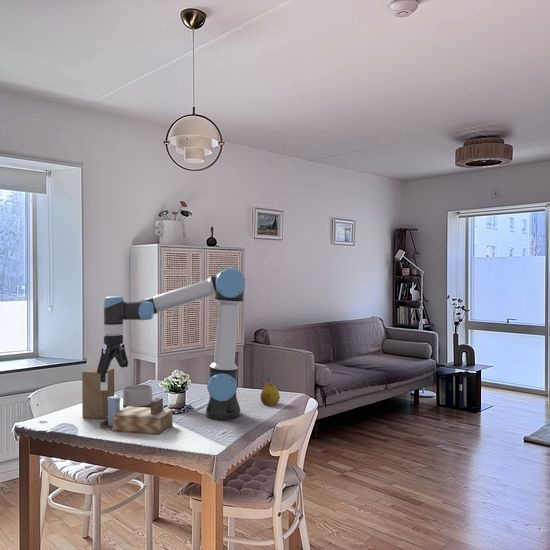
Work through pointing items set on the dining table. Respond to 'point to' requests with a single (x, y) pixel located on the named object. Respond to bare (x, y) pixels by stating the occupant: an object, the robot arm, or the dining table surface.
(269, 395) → the fruit
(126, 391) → the planter
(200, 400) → the dining table surface
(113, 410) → the light blue block
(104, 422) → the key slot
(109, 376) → the wooden block
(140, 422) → the wooden box
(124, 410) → the lid
